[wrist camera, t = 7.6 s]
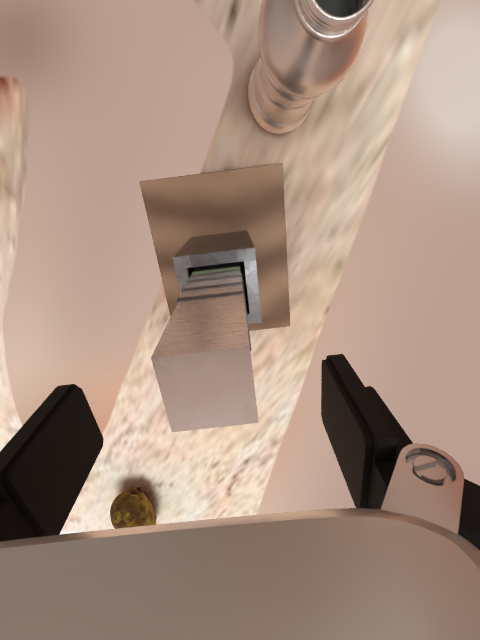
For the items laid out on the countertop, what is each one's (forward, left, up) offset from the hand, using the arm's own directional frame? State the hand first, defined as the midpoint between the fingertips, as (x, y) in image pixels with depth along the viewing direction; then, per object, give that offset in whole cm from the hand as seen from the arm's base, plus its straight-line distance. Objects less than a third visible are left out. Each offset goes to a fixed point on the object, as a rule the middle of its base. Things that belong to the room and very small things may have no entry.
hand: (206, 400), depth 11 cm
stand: (0, 0, -28) cm, 28 cm away
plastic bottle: (-16, +8, -29) cm, 33 cm away
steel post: (0, 0, -21) cm, 21 cm away
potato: (+44, -22, -29) cm, 57 cm away
